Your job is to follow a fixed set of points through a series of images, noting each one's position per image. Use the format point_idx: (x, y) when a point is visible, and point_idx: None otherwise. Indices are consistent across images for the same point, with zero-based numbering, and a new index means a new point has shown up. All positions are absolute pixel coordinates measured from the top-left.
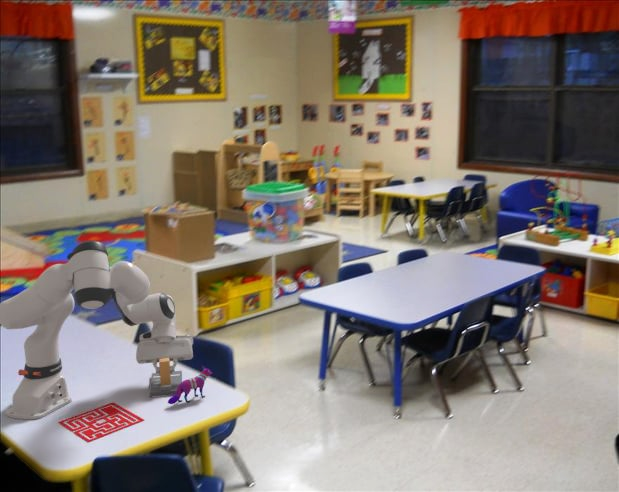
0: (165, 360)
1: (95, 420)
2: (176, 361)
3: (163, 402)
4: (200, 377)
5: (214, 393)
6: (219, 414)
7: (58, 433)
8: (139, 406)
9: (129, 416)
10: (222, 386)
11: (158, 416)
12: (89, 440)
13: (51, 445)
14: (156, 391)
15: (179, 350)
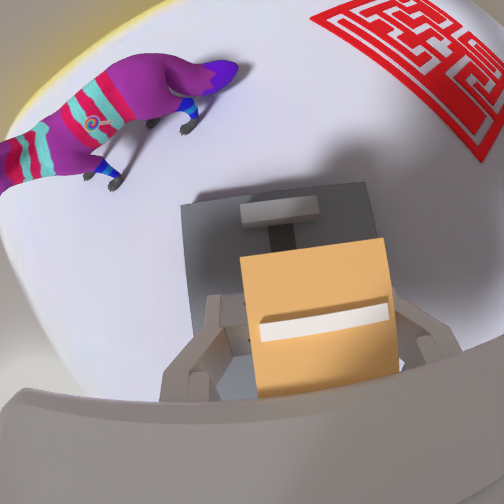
0: (301, 290)
1: (455, 53)
2: (170, 364)
3: (271, 124)
4: (37, 124)
5: (51, 212)
6: (72, 64)
7: (486, 37)
8: (372, 104)
9: (371, 40)
10: (26, 285)
11: (266, 32)
12: None
13: (462, 5)
14: (331, 197)
15: (96, 479)
